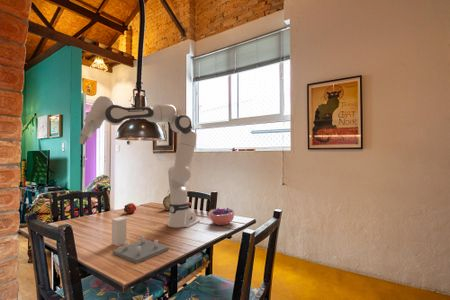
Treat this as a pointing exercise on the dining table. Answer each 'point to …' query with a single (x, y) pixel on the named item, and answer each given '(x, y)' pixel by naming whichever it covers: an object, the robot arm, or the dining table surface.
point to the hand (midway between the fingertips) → (81, 143)
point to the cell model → (221, 216)
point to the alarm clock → (166, 202)
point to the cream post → (118, 231)
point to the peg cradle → (140, 250)
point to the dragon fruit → (130, 208)
